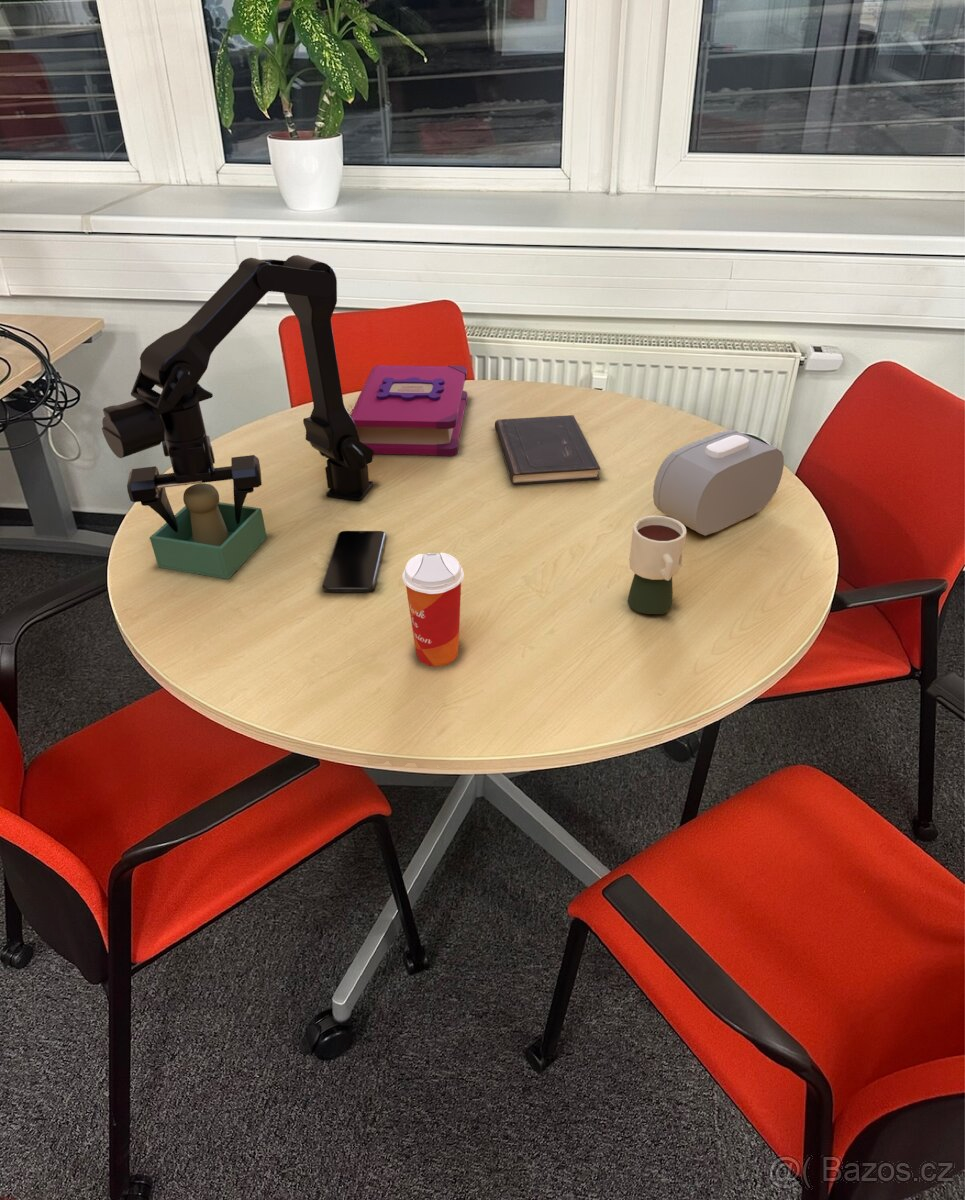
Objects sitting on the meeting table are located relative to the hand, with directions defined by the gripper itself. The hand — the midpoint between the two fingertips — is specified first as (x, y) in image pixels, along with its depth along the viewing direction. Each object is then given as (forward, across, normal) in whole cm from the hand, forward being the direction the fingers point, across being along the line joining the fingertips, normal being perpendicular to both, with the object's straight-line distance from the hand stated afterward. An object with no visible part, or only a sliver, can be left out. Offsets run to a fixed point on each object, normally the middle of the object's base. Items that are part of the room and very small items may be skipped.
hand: (207, 526), depth 128 cm
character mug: (+5, -61, +31) cm, 68 cm away
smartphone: (+5, -21, +9) cm, 24 cm away
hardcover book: (+5, -61, -19) cm, 64 cm away
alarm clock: (+5, -81, +10) cm, 82 cm away
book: (+5, -39, -39) cm, 55 cm away
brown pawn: (+4, 0, 0) cm, 4 cm away
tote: (+5, 0, 0) cm, 5 cm away
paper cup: (+5, -29, +33) cm, 45 cm away
